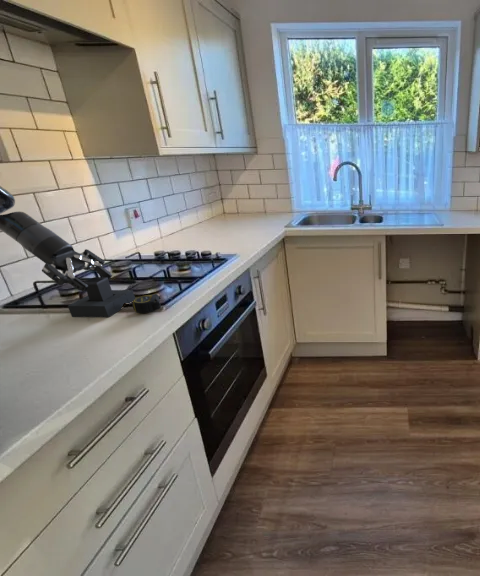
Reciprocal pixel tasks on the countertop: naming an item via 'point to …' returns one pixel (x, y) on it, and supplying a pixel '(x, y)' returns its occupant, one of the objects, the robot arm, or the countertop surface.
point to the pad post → (99, 289)
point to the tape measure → (146, 303)
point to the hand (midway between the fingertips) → (98, 283)
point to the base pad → (101, 305)
